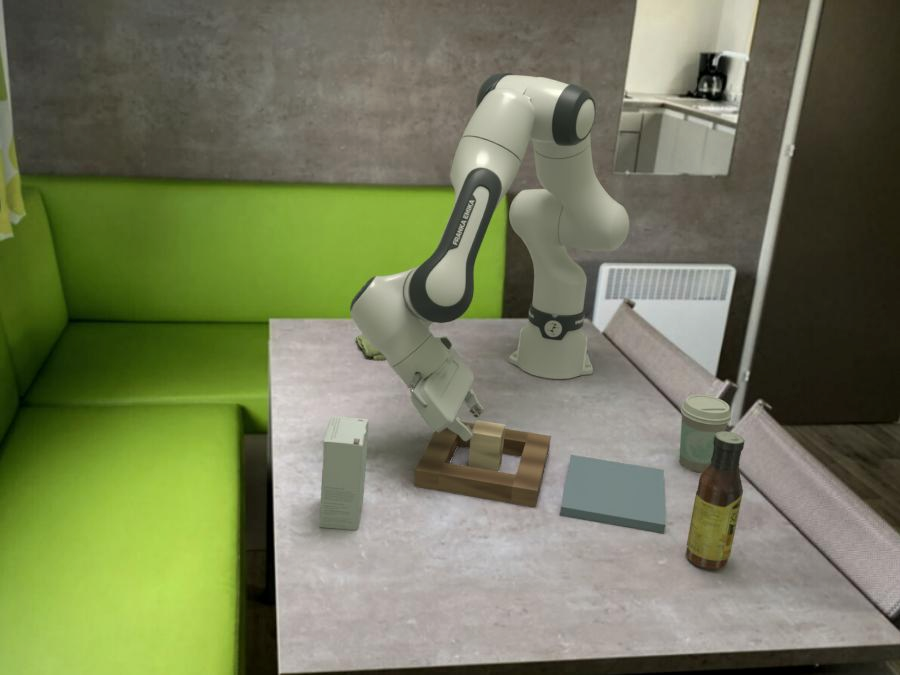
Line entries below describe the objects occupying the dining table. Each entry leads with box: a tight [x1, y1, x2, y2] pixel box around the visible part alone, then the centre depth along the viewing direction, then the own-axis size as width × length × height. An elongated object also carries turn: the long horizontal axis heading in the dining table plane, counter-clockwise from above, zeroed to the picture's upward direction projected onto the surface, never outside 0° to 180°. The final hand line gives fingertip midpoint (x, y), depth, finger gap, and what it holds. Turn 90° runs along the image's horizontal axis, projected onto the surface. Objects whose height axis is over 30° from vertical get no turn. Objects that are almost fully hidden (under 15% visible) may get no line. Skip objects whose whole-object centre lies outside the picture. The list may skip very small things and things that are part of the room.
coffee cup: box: [678, 394, 732, 473], centre depth 154 cm, size 9×9×12 cm
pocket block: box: [413, 420, 552, 508], centre depth 148 cm, size 20×20×3 cm
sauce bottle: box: [685, 430, 745, 571], centre depth 125 cm, size 6×6×20 cm
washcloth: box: [355, 333, 387, 361], centre depth 198 cm, size 13×18×3 cm
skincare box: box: [319, 415, 369, 531], centre depth 129 cm, size 8×6×15 cm
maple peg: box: [467, 419, 506, 472], centre depth 148 cm, size 5×5×8 cm
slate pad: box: [559, 454, 666, 534], centre depth 143 cm, size 18×16×2 cm
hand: (475, 425), depth 147 cm, fingers open, 8 cm apart
